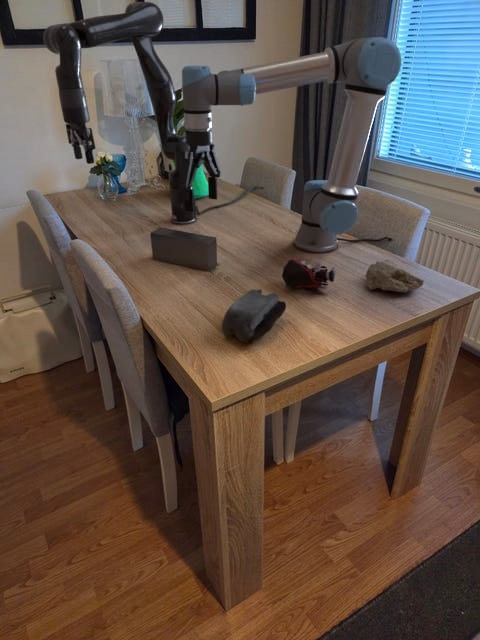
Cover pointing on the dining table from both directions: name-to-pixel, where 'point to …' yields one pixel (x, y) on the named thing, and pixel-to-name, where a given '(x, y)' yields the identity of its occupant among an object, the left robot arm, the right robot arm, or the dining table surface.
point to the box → (184, 248)
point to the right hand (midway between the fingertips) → (201, 204)
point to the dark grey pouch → (252, 315)
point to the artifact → (391, 277)
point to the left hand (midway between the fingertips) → (84, 161)
